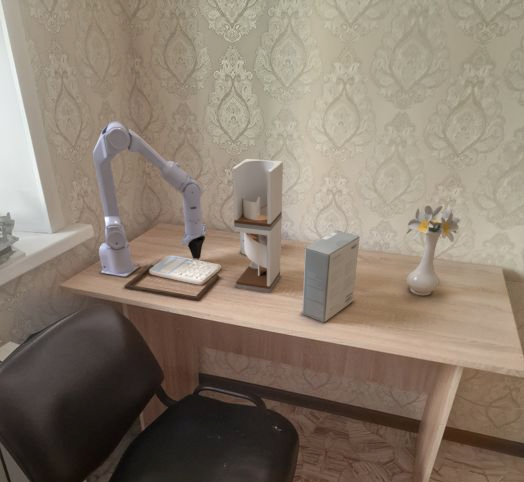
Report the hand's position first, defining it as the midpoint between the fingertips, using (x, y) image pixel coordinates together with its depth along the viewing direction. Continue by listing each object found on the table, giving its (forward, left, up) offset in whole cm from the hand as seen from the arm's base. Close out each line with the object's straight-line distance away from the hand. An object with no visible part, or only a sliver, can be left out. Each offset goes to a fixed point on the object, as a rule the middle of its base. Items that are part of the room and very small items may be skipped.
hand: (196, 257), depth 156 cm
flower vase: (+73, +4, -2) cm, 73 cm away
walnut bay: (0, -17, -1) cm, 17 cm away
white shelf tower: (+25, -7, -2) cm, 26 cm away
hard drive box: (+49, -16, -2) cm, 52 cm away
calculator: (0, -8, -2) cm, 9 cm away
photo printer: (+14, +16, -2) cm, 21 cm away
